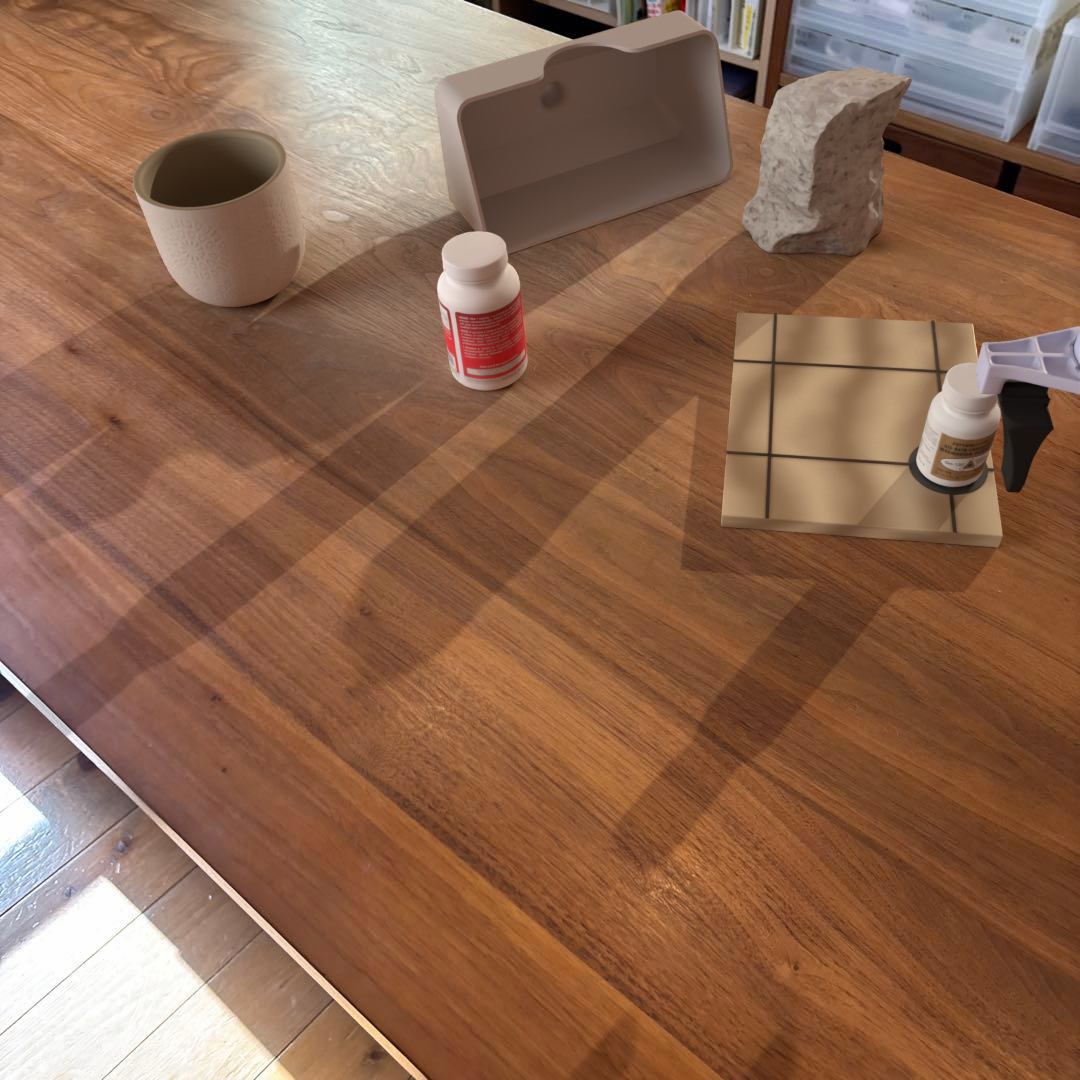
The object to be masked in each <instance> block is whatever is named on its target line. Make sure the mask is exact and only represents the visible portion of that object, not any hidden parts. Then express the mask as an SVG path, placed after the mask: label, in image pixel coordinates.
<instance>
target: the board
mask: <svg viewBox="0 0 1080 1080" xmlns="http://www.w3.org/2000/svg"><path fill="white" fill-rule="evenodd" d="M735 322H736V323H735V325H736V326H735V336H734V337H735V338H734V339H735V340H734V348H733V361H732V362H733V364H732V376H731V389H730V401H729V414H728V424H727V425H728V426H727V438H726V439H727V440H726V451H725V453H726V454H725V464H724V465H725V467H724V477H723V478H724V479H723V490H722V502H721V506H722V507H721V517H720V527H722V528H736V529H747V530H762V531H775V532H786V533H787V532H788V533H802V534H814V535H828V536H839V537H854V538H865V539H866V538H867V539H877V540H878V539H879V540H880V539H881V540H891V541H892V540H893V541H894V540H895V541H905V542H906V541H908V542H919V543H930V544H931V543H932V544H945V545H946V544H947V545H959V546H972V547H974V546H975V547H985V548H997V549H998V548H1000V545H1001V543H1002V540H1003V537H1004V535H1003V533H1004V532H1003V526H1002V521H1001V512H1000V505H999V499H998V492H997V485H996V484H997V483H996V478H995V468H994V464H993V463H994V462H993V456H992V455H993V454H992V449H990V452H989V455H988V457H987V460H986V463H985V466H984V469H983V472H982V474H981V475H980V477H979V478H978V479H977V480H976V481H974V482H973V483H971V484H969V485H965V486H960V487H948V486H943V485H940V484H937V483H935V482H933V481H931V480H929V479H928V478H927V477H925V476H924V475H923V474H922V473H921V471H920V470H919V468H918V466H917V462H916V458H917V453H918V449H919V446H920V442H921V438H922V434H923V431H924V427H925V423H926V419H927V416H928V412H929V408H930V405H931V402H932V400H933V399H934V397H935V396H936V395H937V394H938V393H940V392H941V391H942V386H943V384H944V380H945V377H946V374H947V372H948V371H949V370H950V369H951V368H952V367H954V366H956V365H959V364H963V363H977V361H978V358H979V355H978V349H977V343H976V336H975V328H974V323H971V322H970V323H969V322H952V321H951V322H948V321H935V320H931V321H930V320H929V321H928V320H926V321H925V320H904V319H883V318H882V319H881V318H861V317H844V316H843V317H841V316H840V317H839V316H819V315H799V314H796V315H795V314H778V313H777V312H775V313H754V312H753V313H752V312H737V314H736V321H735Z"/></svg>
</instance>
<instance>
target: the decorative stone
mask: <svg viewBox="0 0 1080 1080" xmlns="http://www.w3.org/2000/svg"><path fill="white" fill-rule="evenodd" d="M912 82H913V77H907V76H906V75H901V74H898V73H893V72H888V71H880V70H877V69H875V68H866V67H862V66H857V67H851V68H848V69H845V70H836V71H834V70H827V71H824V72H821V73H817V74H813V75H811V76H808V77H804V78H798V80H796V81H794V82H792V83H789V84H787V85H784V86H783V87H781V88H779V89H778V90H777V91H776V93H775V96H774V97H773V102H772V105H771V106H770V108H769V111H768V115H767V119H766V122H765V129H764V133H763V137H762V140H761V143H760V145H759V149H760V156H761V160H760V166H759V170H758V174H759V177H758V185H757V189H756V192H755V194H754V196H753V197H752V198H751V199H750V200H749V201H748V202H747V203H746V204H745V205H744V207H743V214H742V220H741V225H742V227H743V228H744V229H745V230H746V231H748V233H749V234H750V235H751V238H752V241H753V242H754V243H755V244H757V246H758V247H759V248H760V249H761V250H763V251H764V252H767V253H769V254H785V255H787V254H791V255H793V254H795V255H797V254H817V255H820V254H822V255H823V254H829V255H830V254H836V255H843V256H846V257H852V256H855V255H858V254H859V253H861V252H864V251H865V250H866V248H867V246H868V245H869V242H870V240H871V239H872V238H873V237H874V236H876V235H878V234H879V233H881V232H882V230H883V227H884V217H883V213H884V208H885V200H884V199H885V198H884V189H883V176H884V175H885V166H884V164H883V162H882V159H883V157H884V155H885V154H884V153H885V152H884V145H885V141H884V139H883V135H884V132H885V130H886V128H887V126H888V125H890V123H891V122H892V121H893V120H894V119H895V118H896V116H897V114H898V112H899V110H900V108H901V103H902V100H903V97H904V96H905V94H906V93H907V91H908V89H909V88H910V86H911V84H912Z"/></svg>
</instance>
